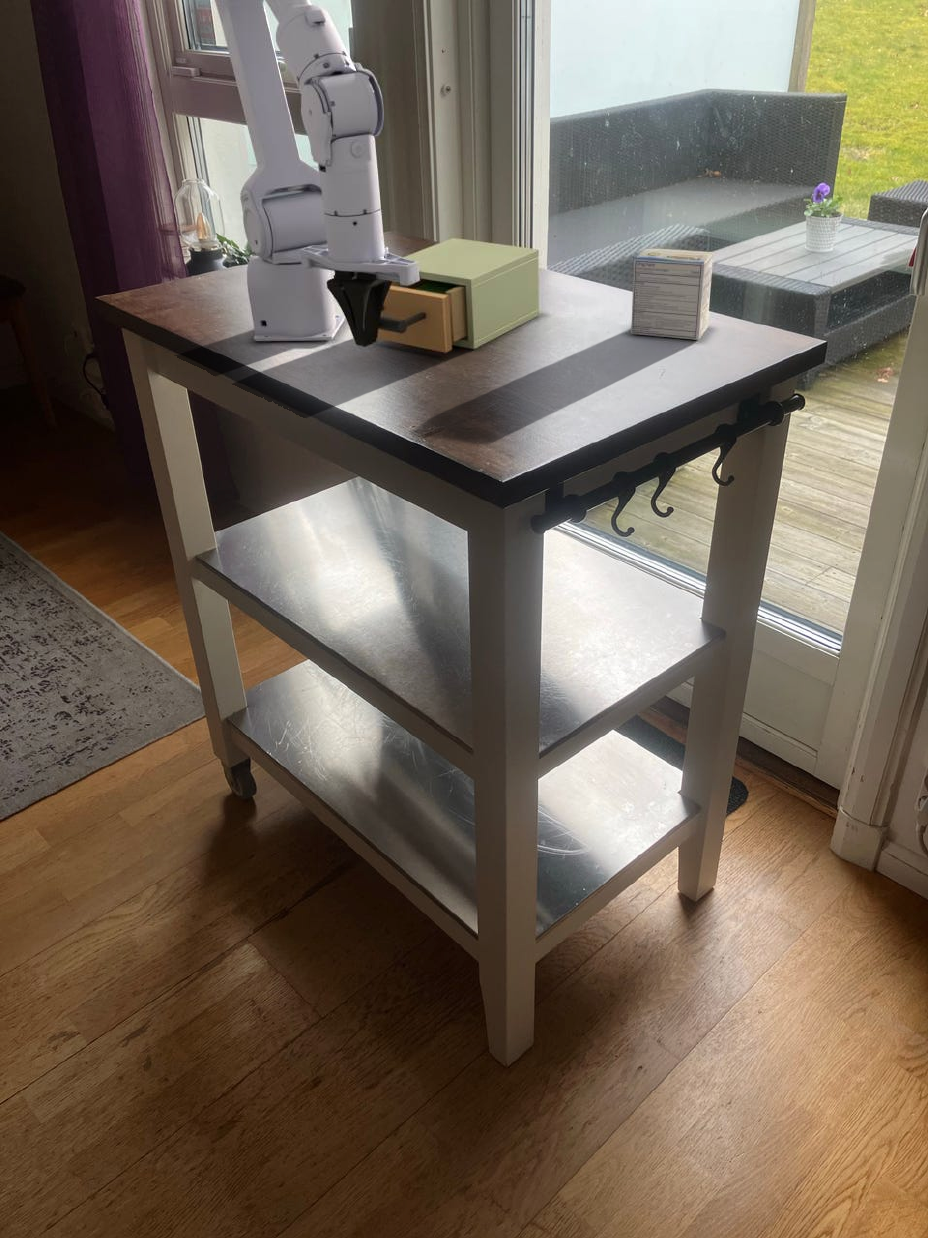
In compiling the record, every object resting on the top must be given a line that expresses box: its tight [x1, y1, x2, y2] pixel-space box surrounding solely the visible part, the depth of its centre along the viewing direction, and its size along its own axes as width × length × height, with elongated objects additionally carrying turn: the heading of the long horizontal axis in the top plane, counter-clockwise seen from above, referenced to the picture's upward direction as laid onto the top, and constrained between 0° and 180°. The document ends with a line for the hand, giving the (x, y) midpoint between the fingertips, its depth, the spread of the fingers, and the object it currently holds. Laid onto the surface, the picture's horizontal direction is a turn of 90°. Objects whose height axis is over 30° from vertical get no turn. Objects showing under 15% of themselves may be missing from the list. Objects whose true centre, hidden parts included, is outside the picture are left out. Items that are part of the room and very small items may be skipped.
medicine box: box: [630, 248, 714, 341], centre depth 113 cm, size 8×4×9 cm, turn 65°
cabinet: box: [402, 237, 540, 350], centre depth 119 cm, size 14×13×8 cm
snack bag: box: [415, 281, 460, 295], centre depth 116 cm, size 7×5×4 cm
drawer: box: [377, 278, 468, 354], centre depth 114 cm, size 17×11×6 cm, turn 144°
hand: (366, 343), depth 108 cm, fingers closed, pressing on drawer
